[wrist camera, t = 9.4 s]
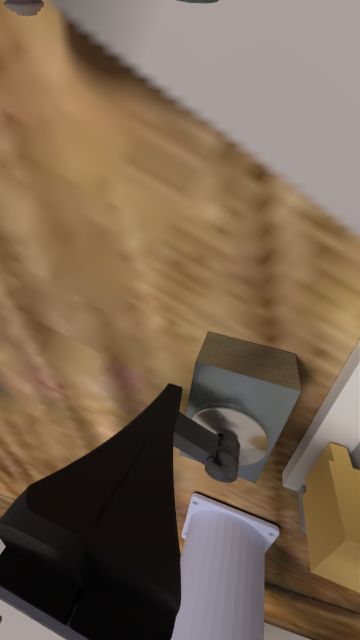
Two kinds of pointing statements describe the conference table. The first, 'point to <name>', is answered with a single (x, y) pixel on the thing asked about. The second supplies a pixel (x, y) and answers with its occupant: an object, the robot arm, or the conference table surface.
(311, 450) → the rail
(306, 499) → the carriage
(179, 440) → the dark lever handle
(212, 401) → the lever base
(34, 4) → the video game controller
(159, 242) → the conference table surface
